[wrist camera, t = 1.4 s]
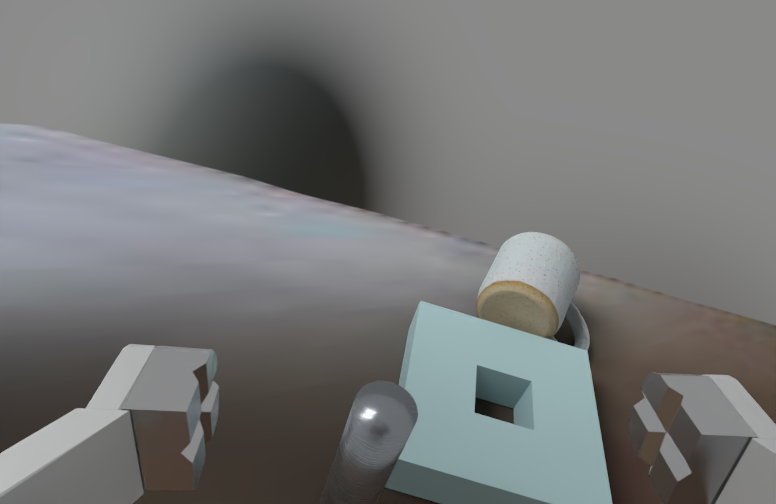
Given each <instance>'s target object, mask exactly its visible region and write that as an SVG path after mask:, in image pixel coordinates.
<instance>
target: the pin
mask: <svg viewBox="0 0 776 504" xmlns="http://www.w3.org/2000/svg"><path fill="white" fill-rule="evenodd" d="M417 418H418V409H417V405H416V402H415V401H414V399H413V397H412V396H411V395H410V393H409V392H408V391H407V390H405V389H404V388H403V387H401V386H400V385H398V384H395V383H393V382H389V381H373V382H370V383H368V384H366V385H364V386H363V387H362V388H361V389H360V390H359V391H358V392H357V394H356V397H355V400H354V403H353V405H352V408H351V411H350V414H349V417H348V420H347V423H346V426H345V429H344V431H343V434H342V437H341V440H340V443H339V446H338V449H337V452H336V454H335V457H334V460H333V463H332V466H331V469H330V472H329V475H328V478H327V480H326V483H325V486H324V489H323V492H322V495H321V498H320V501H319V504H377V502H378V500H379V498H380V496H381V494H382V492H383V490H384V488H385V486H386V484H387V481H388V479H389V477H390V475H391V473H392V471H393V469H394V467H395V465H396V463H397V461H398V459H399V457H400V455H401V453H402V451H403V449H404V447H405V445H406V443H407V440H408V438H409V436H410V434H411V432H412V430H413V428H414V426H415V424H416V422H417Z"/></svg>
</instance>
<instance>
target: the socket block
mask: <svg viewBox="0 0 776 504" xmlns="http://www.w3.org/2000/svg"><path fill="white" fill-rule="evenodd" d="M398 385H400V386H401V387H403V388H404V389H405V390H407V391H408V392H409V393H410V395H411V396H412V397H413V399H414V401H415V402H416V405H417V409H418V418H417V422H416V424H415V426H414V428H413V430H412V432H411V434H410V436H409V438H408V440H407V443H406V445H405V447H404V449H403V451H402V453H401V455H400V457H399V459H398V461H397V463H396V465H395V467H394V469H393V471H392V473H391V475H390V477H389V479H388V481H387V484H386V486H385V488H389V489H392V490H395V491H399V492H402V493H406V494H409V495H413V496H416V497H419V498H423V499H426V500H430V501H433V502H437V503H440V504H612V498H611V492H610V486H609V479H608V473H607V467H606V461H605V455H604V449H603V443H602V437H601V431H600V425H599V419H598V412H597V406H596V400H595V394H594V388H593V382H592V376H591V370H590V364H589V358H588V352H587V350H583V349H580V348H577V347H573V346H570V345H567V344H563V343H560V342H557V341H553V340H550V339H547V338H543V337H540V336H537V335H533V334H530V333H527V332H523V331H520V330H517V329H513V328H510V327H507V326H503V325H500V324H497V323H493V322H490V321H487V320H483V319H480V318H477V317H473V316H470V315H467V314H463V313H460V312H457V311H453V310H450V309H447V308H443V307H440V306H437V305H433V304H430V303H427V302H423V301H420V303H419V305H418V308H417V310H416V313H415V315H414V318H413V320H412V323H411V325H410V328H409V331H408V336H407V342H406V347H405V352H404V358H403V363H402V368H401V374H400V379H399V384H398ZM475 397H476V398H479V399H483V400H486V401H489V402H493V403H496V404H500V405H503V406H506V407H510V408H513V409H514V424H511V423H508V422H505V421H501V420H498V419H494V418H491V417H488V416H484V415H481V414H478V413H475Z"/></svg>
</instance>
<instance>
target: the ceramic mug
mask: <svg viewBox="0 0 776 504" xmlns="http://www.w3.org/2000/svg"><path fill="white" fill-rule="evenodd" d="M579 280H580V267H579V264H578V261H577V260H576V257H575V255H574V254H573V253H572V251H571V250H570V249H569V247H567V246H566V245H565V244H564V243H563V242H561V241H560V240H558V239H556V238H555V237H553V236H550V235H547V234H543V233H539V232H526V233H521V234H518V235H515V236H514V237H512V238H510V239H508V240H507V241H506V242H505V243H504V244H503V245H502V247H501V248H500V250H499V252H498V254H497V256H496V258H495V260H494V262H493V264H492V266H491V268H490V270H489V272H488V274H487V276H486V278H485V280H484V281H483V283H482V285H481V287H480V290H479V294H478V298H477V304H476V310H477V315H478V318H480V319H483V320H487V321H490V322H493V323H497V324H500V325H503V326H507V327H510V328H513V329H517V330H520V331H523V332H527V333H530V334H533V335H537V336H540V337H543V338H547V339H550V340H553V341H557V340H556V339H555V338H554V335H555V334H556V332H557V331H558V330H559V328H560V327H561V325H562V323H563V320H564V318H565V319H566V320H567V322H568V324H569V325H570V327H571V330H572V332H573V335H574V338H575V344H574V346H573V347H577V348H580V349H583V350H587V351H588V348H589V345H590V336H589V331H588V328H587V325H586V323H585V321H584V318H583V317H582V315H581V313H580V311H579V310H578V308H577V307H576V306H575V304H574V303H573V302H572V299H573V296H574V294H575V292H576V290H577V287H578V284H579ZM557 342H558V341H557Z"/></svg>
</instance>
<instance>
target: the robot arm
mask: <svg viewBox="0 0 776 504" xmlns="http://www.w3.org/2000/svg"><path fill="white" fill-rule="evenodd" d="M217 368H218V366H217V357H216V352H215V351H214V350H211V349H197V348H184V347H171V346H152V345H137V344H129V345H127V346H126V347H124V348H123V349H122V351H121V352H120V354H119V355H118V357H117V359H116V360H115V362H114V363H113V365H112V367H111V368H110V370H109V372H108V373H107V375H106V376H105V378H104V380H103V381H102V383H101V384H100V386H99V388H98V389H97V391H96V392H95V394H94V396H93V397H92V399H91V400H90V402H89V404H88V405H87V407H86V408H85V409H84V408H76V409H74V410H73V411H71V412H69V413H68V414H66V415H64V416H62V417H61V418H59V419H57V420H56V421H54V422H52V423H51V424H49V425H47V426H46V427H44V428H42V429H40V430H39V431H37V432H35V433H34V434H32V435H30V436H29V437H27V438H25V439H23V440H22V441H20V442H18V443H17V444H15V445H13V446H12V447H10V448H8V449H6V450H5V451H3V452H1V453H0V504H133V503H134V502H135V501H136V500H137V499H138V498H139V497H141V496H142V495H143V494H144V491H143V490H158V491H195V490H196V487H197V484H198V481H199V478H200V475H201V472H202V469H203V466H204V463H205V460H206V455H205V444H206V443H207V442H208V441H210V440H211V439H212V438H213V435H214V431H215V428H216V424H217V418H218V412H219V398H220V396H219V386H218V385H217V384H216V383H215V382H214V381H213V379H214V376H215V373H216V371H217ZM641 390H642V392H643V394H644V396H645V398H644V399H643V400H641V401H640V402H639V403H637V404H636V405H635V406H634V407H633V410H632V412H631V415H630V418H629V435H630V439H631V443H632V446H633V448H634V450H635V452H636V453H637V455H638V456H639V457H640V458H641V459H642V460H644V461H645V462H646V463H648V464H649V465H650V466H651V468H650V471H649V475H648V476H649V478H650V480H651V482H652V484H653V485H654V487H655V489H656V491H657V493H658V495H659V496H660V498H661V500H662V502H663V504H776V424H775V423H774V422H773V421H772V420H771V419H770V418H769V416H768V415H767V414H766V413H765V412H764V411H763V409H762V408H761V407H760V406H759V405H758V404H757V403H756V401H755V400H754V399H753V398H752V397H751V396H750V394H749V393H748V392H747V391H746V390H745V389H744V388H743V386H742V385H741V384H740V383H739V382H738V381H737V380H736V379H734V378H733V377H731V376H729V375H688V374H666V373H651V374H650V375H648V376H647V377H646V378H645V380H644V383H643V385H642V387H641Z"/></svg>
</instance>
